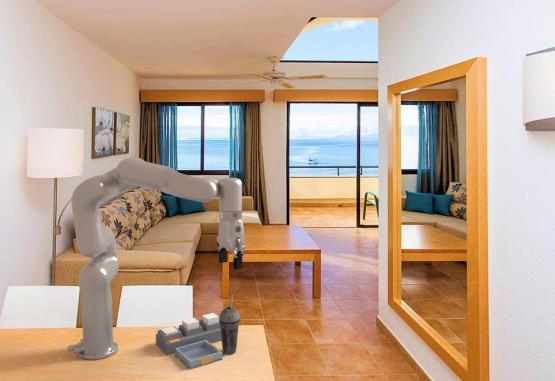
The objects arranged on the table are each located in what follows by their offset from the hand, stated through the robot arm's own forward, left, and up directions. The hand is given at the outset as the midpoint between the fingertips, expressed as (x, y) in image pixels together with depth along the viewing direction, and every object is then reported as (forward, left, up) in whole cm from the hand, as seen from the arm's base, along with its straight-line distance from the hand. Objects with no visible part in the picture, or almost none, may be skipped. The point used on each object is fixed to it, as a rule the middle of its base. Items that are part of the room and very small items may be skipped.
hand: (230, 265), depth 157 cm
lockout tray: (-11, +2, -30) cm, 32 cm away
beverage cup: (0, 0, -30) cm, 30 cm away
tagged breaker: (-16, +14, -26) cm, 34 cm away
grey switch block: (-8, +14, -30) cm, 34 cm away
